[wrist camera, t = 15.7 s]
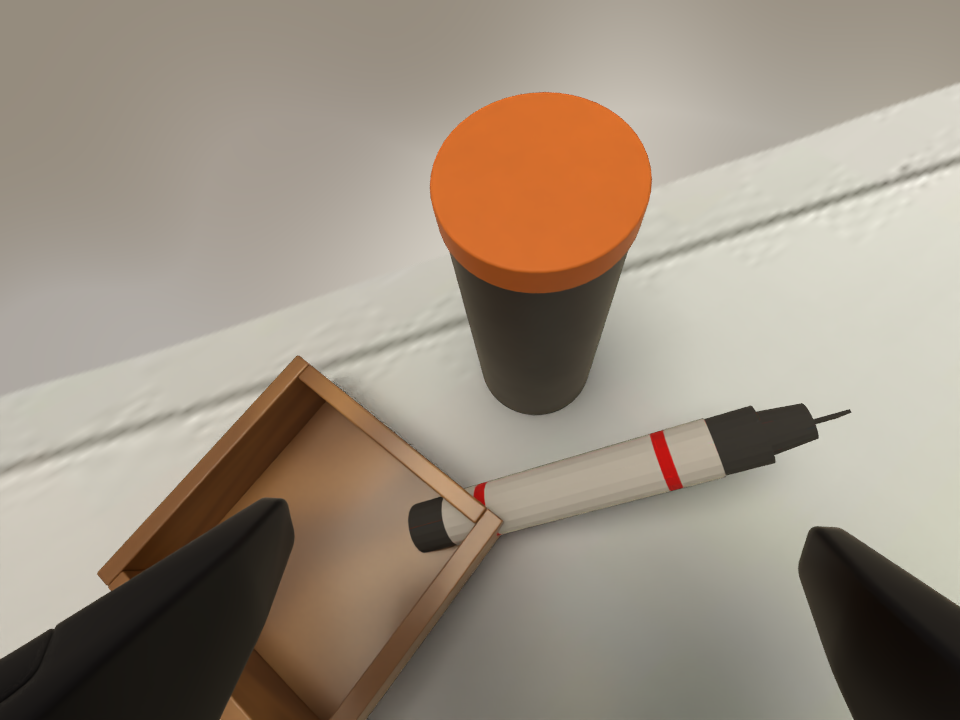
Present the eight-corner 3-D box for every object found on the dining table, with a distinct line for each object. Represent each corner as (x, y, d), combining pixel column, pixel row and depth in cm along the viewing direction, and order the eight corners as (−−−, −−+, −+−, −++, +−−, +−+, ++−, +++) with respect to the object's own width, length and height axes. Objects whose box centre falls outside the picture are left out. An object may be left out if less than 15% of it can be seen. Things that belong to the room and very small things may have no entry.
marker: (437, 551, 21) (412, 555, 19) (428, 503, 22) (403, 502, 20) (854, 444, 16) (871, 437, 15) (826, 387, 17) (839, 373, 15)
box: (508, 525, 21) (503, 520, 18) (334, 762, 19) (293, 806, 16) (329, 381, 24) (297, 353, 21) (160, 570, 22) (95, 573, 18)
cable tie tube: (614, 378, 23) (700, 195, 11) (518, 439, 22) (504, 314, 11) (549, 294, 24) (566, 59, 13) (459, 348, 24) (391, 156, 12)
